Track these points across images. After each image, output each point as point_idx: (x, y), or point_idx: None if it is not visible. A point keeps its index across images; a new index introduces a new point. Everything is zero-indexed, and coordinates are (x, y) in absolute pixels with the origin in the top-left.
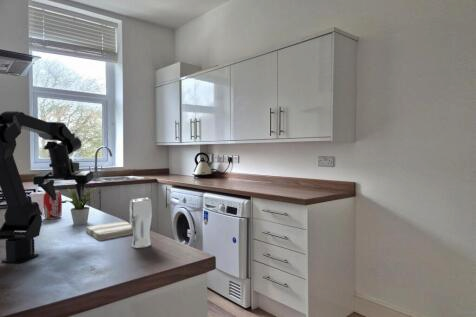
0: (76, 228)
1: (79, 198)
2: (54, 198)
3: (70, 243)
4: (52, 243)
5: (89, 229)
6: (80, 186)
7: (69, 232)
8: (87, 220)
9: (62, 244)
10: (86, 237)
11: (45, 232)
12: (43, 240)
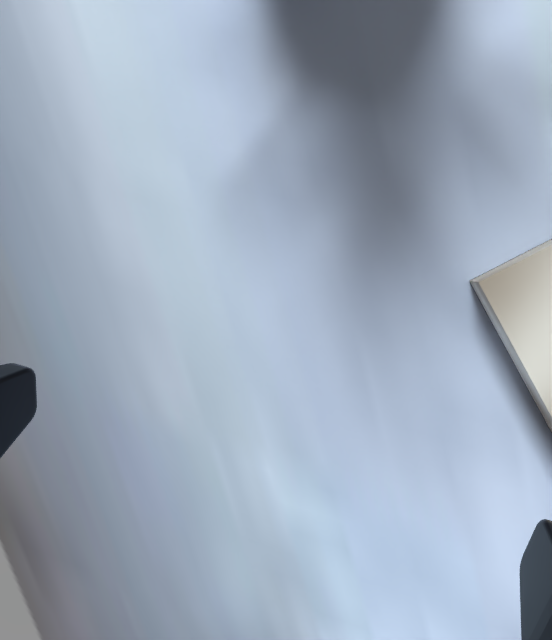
0: (339, 103)
1: (530, 617)
2: (5, 443)
3: (407, 601)
4: (270, 554)
5: (526, 372)
6: None
7: (312, 247)
8: None
9: (352, 607)
10: (505, 465)
11: (112, 199)
12: (180, 449)
